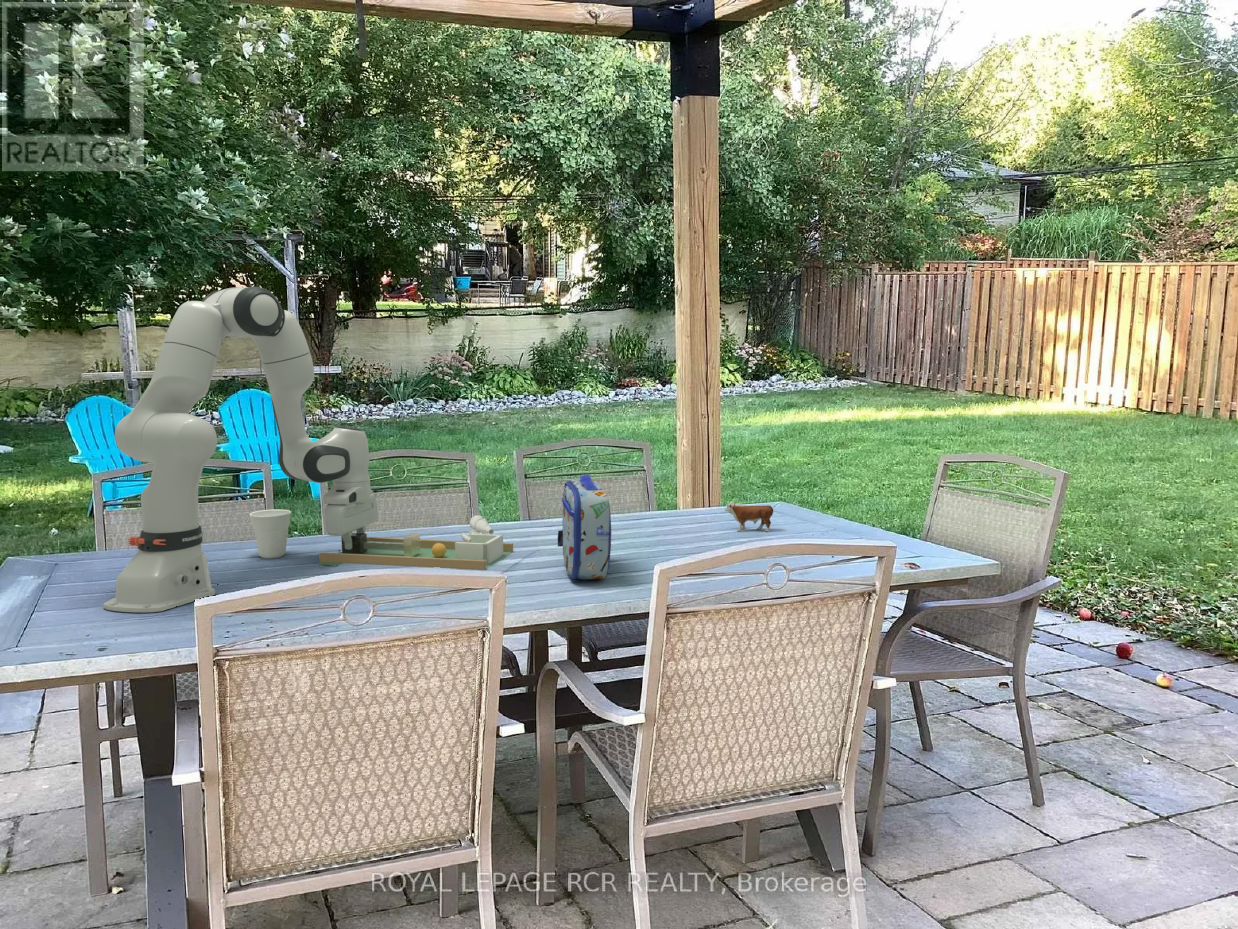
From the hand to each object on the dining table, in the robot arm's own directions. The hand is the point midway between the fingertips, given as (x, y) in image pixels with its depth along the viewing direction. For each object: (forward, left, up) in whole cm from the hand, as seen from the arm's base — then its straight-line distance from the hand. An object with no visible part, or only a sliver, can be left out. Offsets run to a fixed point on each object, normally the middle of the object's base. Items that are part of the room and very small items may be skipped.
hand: (354, 546), depth 249 cm
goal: (0, -33, -3) cm, 33 cm away
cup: (-3, +21, -3) cm, 21 cm away
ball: (0, -23, -2) cm, 23 cm away
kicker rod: (0, -7, -1) cm, 7 cm away
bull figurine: (+53, -92, -3) cm, 106 cm away
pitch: (0, -17, -3) cm, 17 cm away
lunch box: (-3, -60, -3) cm, 60 cm away
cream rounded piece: (+21, -24, -3) cm, 32 cm away
